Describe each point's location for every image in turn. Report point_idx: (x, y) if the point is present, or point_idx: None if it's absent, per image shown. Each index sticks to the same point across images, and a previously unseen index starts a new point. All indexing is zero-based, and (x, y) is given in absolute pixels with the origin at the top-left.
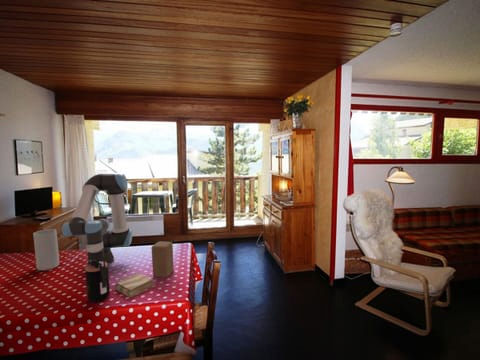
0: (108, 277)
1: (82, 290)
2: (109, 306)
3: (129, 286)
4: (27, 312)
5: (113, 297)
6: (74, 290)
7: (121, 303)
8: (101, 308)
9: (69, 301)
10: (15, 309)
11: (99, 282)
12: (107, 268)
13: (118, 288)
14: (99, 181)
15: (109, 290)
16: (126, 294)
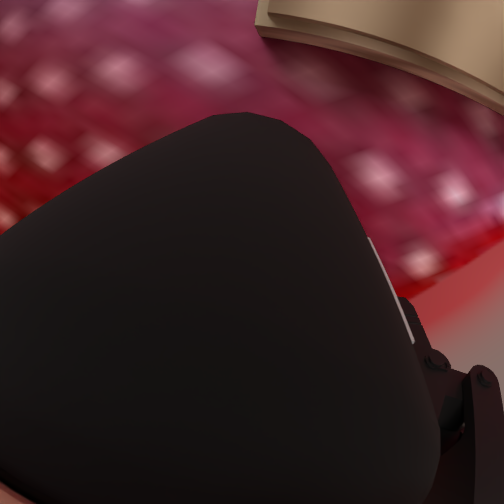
0: (356, 228)
1: (33, 197)
2: (434, 257)
3: (494, 51)
4: None
5: (372, 151)
6: (6, 222)
7: (489, 200)
8: (396, 293)
9: None
10: None
11: None
12: (417, 444)
13: (326, 43)
14: None
15: (320, 154)
16: (462, 93)
